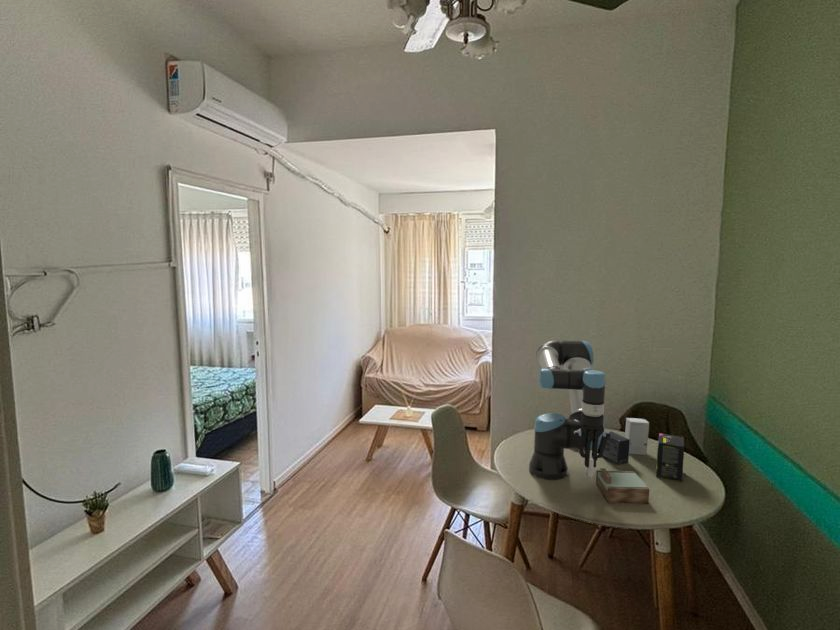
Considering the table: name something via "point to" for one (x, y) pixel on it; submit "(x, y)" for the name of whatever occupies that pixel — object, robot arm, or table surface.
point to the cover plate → (620, 479)
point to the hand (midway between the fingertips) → (589, 475)
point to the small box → (617, 449)
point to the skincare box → (637, 435)
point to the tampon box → (670, 457)
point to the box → (623, 492)
